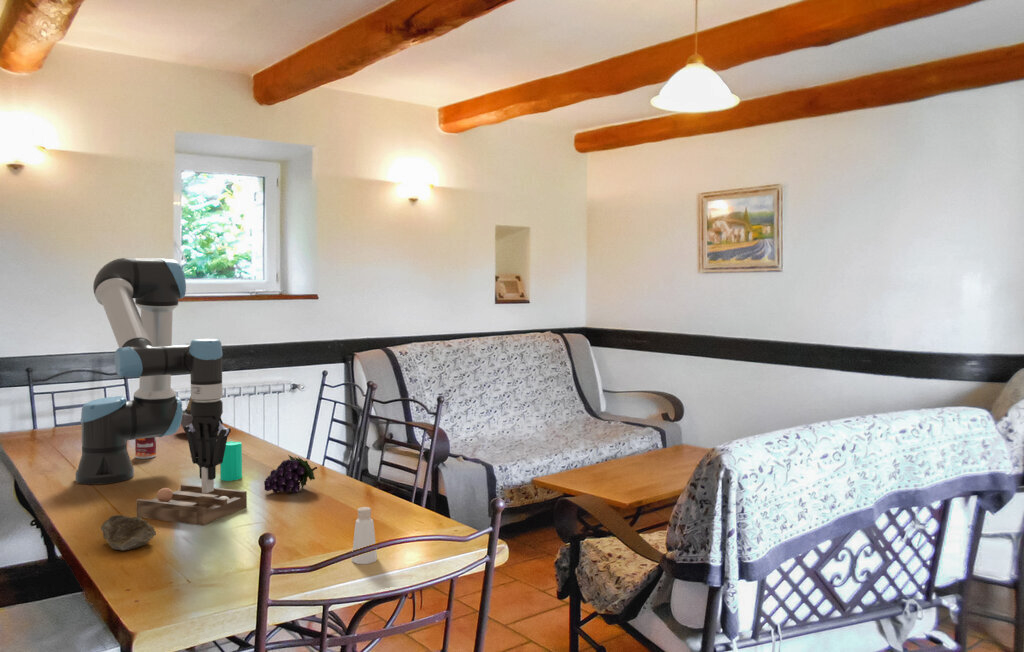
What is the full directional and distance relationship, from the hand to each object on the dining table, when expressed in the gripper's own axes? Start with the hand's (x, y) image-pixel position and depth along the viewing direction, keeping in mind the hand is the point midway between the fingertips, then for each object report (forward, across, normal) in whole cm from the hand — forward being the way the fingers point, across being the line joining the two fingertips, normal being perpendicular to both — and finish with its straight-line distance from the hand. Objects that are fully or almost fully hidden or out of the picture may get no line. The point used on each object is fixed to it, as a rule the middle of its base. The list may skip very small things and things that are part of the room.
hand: (207, 491), depth 197 cm
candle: (+5, -14, +27) cm, 31 cm away
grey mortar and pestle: (+4, -70, +76) cm, 103 cm away
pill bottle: (+4, -58, +40) cm, 71 cm away
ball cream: (+3, +5, 0) cm, 6 cm away
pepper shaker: (+5, +56, -19) cm, 59 cm away
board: (+4, -1, -4) cm, 6 cm away
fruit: (+5, +10, +21) cm, 24 cm away
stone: (+5, +2, -28) cm, 29 cm away
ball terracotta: (0, -6, -8) cm, 10 cm away
